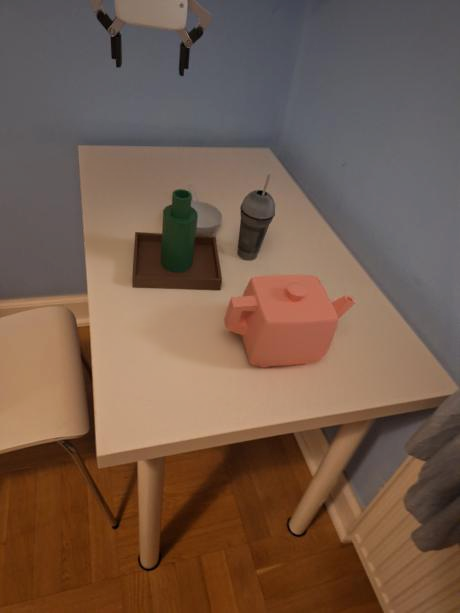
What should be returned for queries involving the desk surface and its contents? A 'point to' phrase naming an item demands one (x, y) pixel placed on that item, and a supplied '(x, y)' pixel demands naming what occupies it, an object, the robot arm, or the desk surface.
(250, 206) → the beverage cup
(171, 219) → the bottle
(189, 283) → the tray
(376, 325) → the desk surface
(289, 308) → the teapot
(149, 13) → the robot arm
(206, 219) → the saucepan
